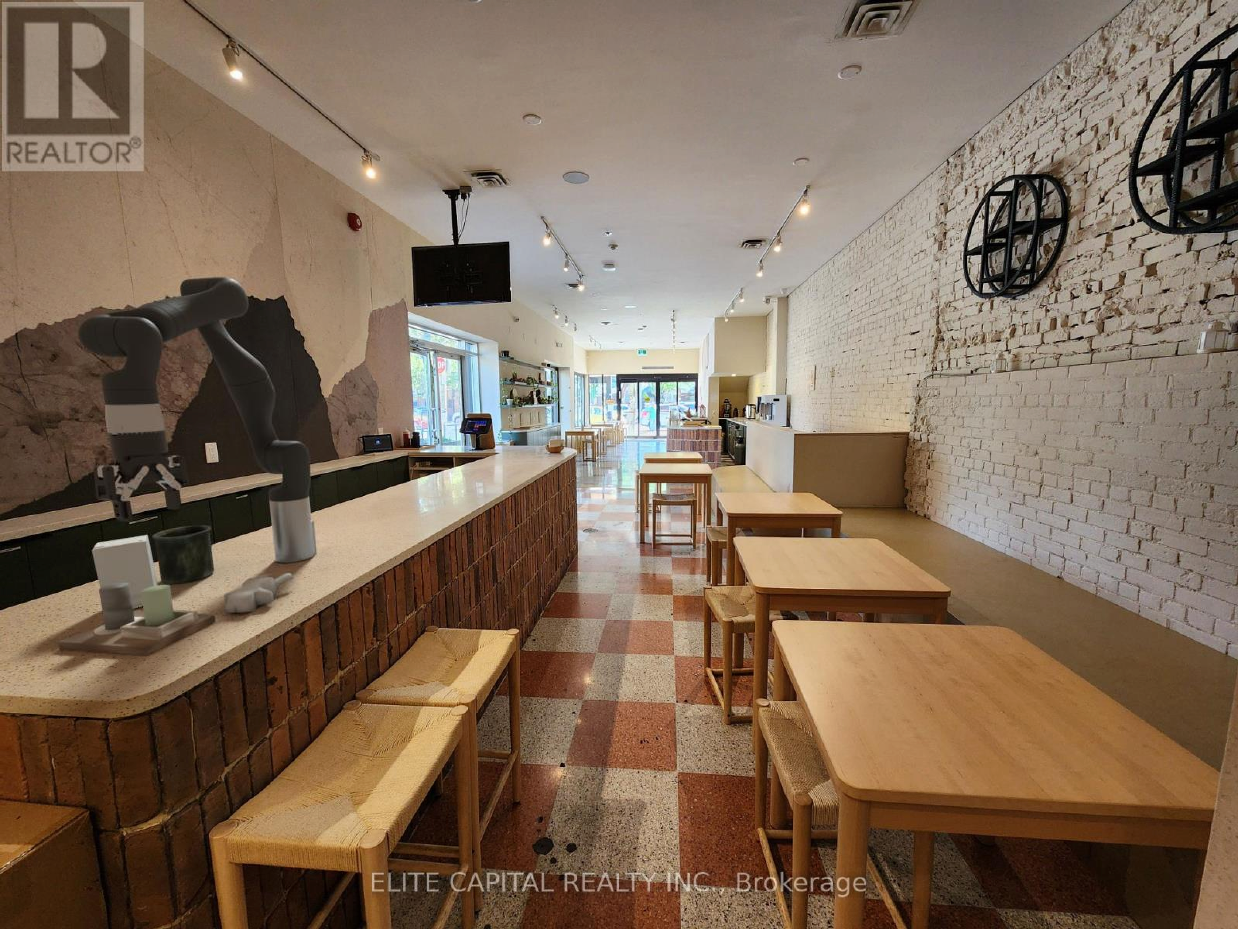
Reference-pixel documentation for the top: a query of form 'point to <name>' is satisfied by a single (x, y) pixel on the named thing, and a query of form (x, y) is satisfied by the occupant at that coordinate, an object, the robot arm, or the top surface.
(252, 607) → the bunny figurine
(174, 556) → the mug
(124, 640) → the board
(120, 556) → the skincare box
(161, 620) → the green pin
